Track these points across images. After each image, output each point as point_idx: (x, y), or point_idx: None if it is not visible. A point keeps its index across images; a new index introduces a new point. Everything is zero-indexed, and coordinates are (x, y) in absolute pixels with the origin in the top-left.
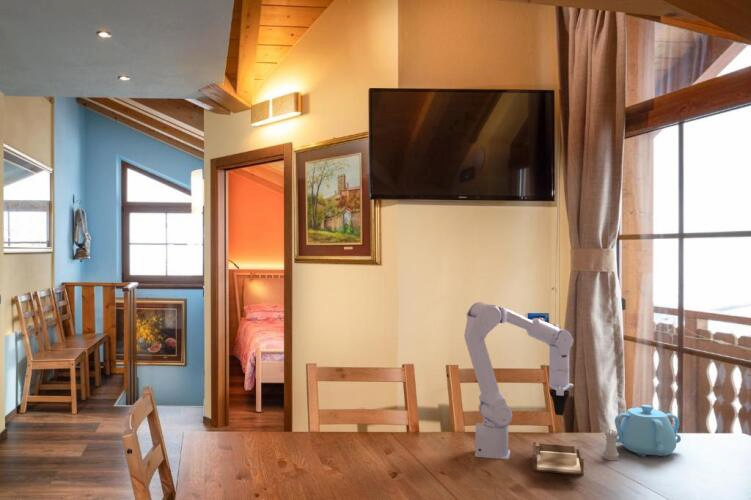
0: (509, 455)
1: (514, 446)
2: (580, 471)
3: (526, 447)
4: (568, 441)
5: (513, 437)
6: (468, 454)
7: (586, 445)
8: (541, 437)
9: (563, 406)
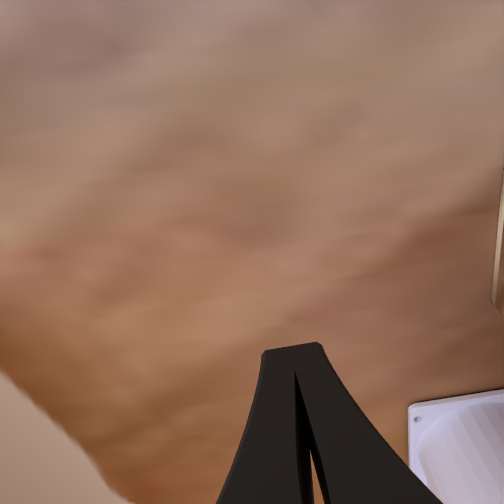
0: (489, 393)
1: None
2: None
3: None
4: (50, 182)
5: (165, 434)
6: None
7: (64, 39)
8: (76, 334)
9: (367, 434)
